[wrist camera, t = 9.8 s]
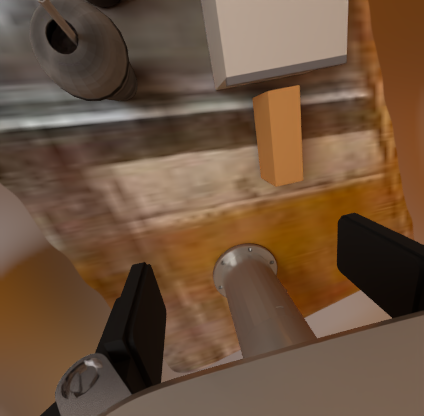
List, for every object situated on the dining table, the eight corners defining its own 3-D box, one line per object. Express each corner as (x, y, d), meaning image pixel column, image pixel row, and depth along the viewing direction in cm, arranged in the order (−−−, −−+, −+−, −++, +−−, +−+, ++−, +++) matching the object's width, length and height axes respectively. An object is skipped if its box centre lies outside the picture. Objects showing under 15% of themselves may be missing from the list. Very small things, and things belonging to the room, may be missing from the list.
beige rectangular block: (304, -33, 28) (351, -96, 20) (307, 78, 33) (346, 62, 25) (198, -16, 27) (204, -74, 19) (216, 96, 32) (227, 85, 24)
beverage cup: (82, 56, 28) (-114, -93, 9) (138, 46, 28) (57, -115, 10) (103, 116, 31) (-19, 93, 12) (154, 106, 31) (112, 69, 12)
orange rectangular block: (278, 93, 32) (299, 84, 26) (284, 172, 36) (303, 180, 30) (252, 98, 32) (267, 91, 26) (261, 177, 36) (275, 186, 30)
